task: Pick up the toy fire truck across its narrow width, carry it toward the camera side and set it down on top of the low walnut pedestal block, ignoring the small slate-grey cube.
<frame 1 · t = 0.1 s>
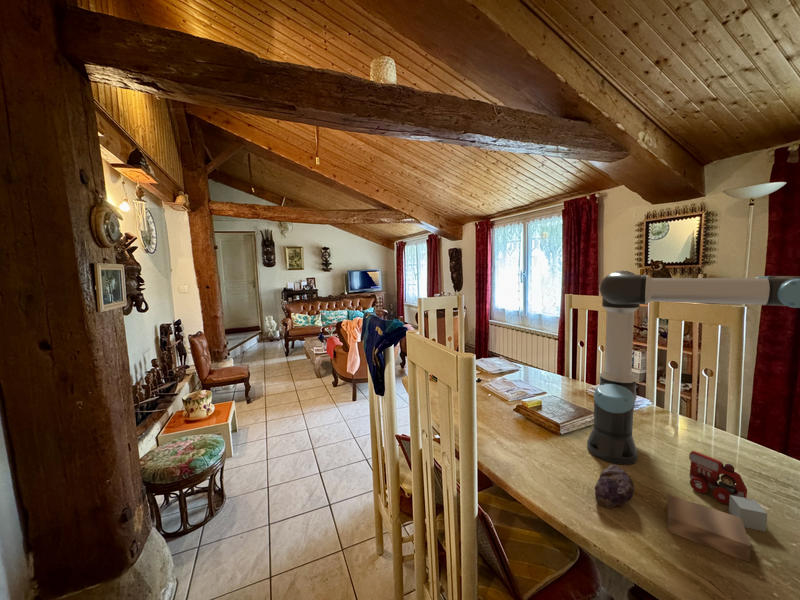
toy fire truck: (714, 494, 93), on the table
grey cube: (746, 521, 83), on the table
rock: (613, 500, 92), on the table
pedestal: (703, 532, 80), on the table
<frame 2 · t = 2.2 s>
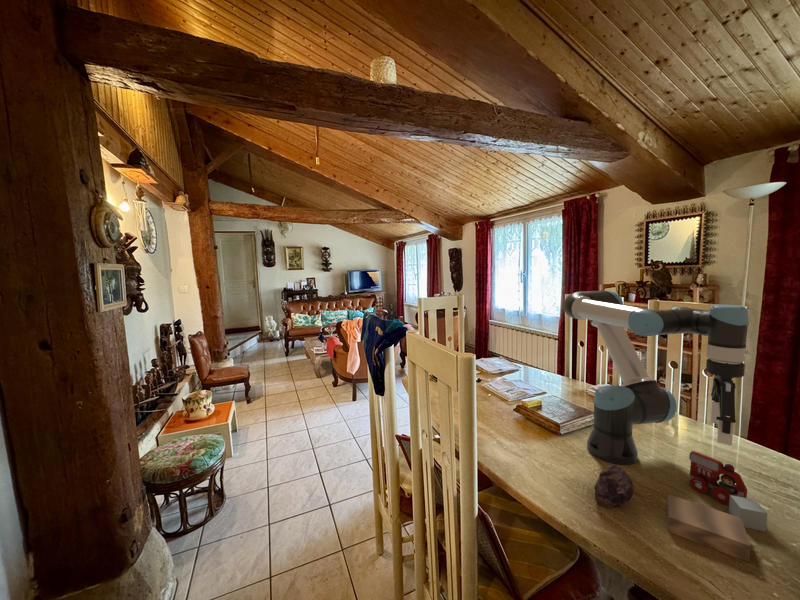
hand: (720, 432, 91), 19 cm above the table, fingers open, 13 cm apart
nothing on the table moved.
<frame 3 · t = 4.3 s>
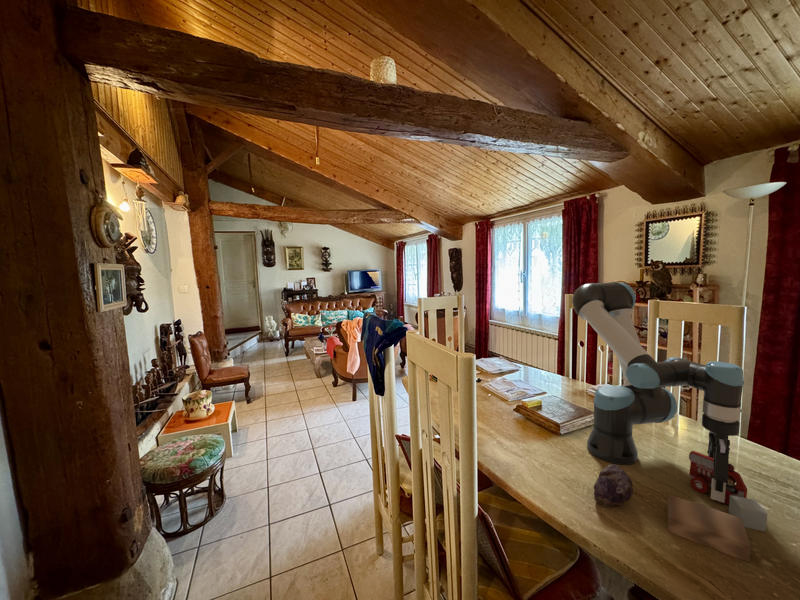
hand: (715, 490, 93), 1 cm above the table, fingers closed on toy fire truck, 8 cm apart
toy fire truck: (714, 494, 93), on the table, touching gripper
everything else where it was.
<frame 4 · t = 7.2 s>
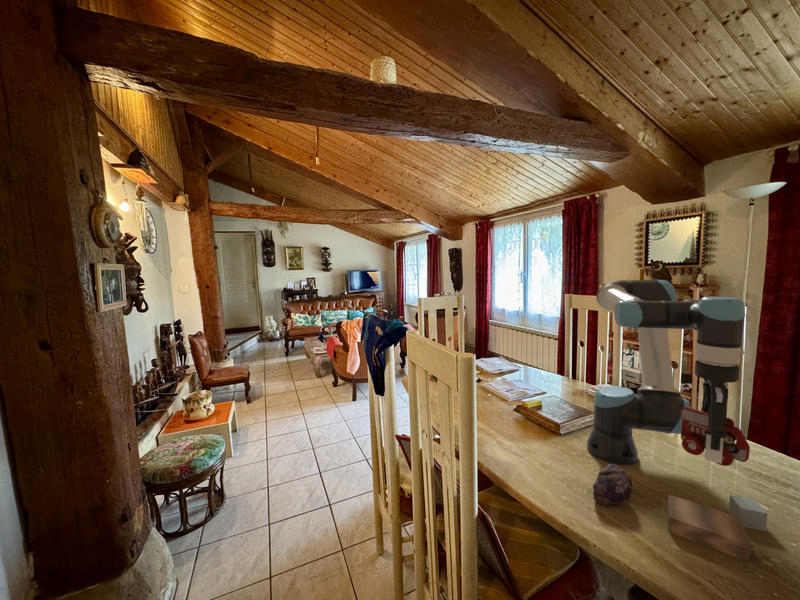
hand: (710, 451, 78), 21 cm above the table, fingers closed on toy fire truck, 8 cm apart
toy fire truck: (710, 456, 78), point 20 cm above the table, touching gripper
everything else where it was.
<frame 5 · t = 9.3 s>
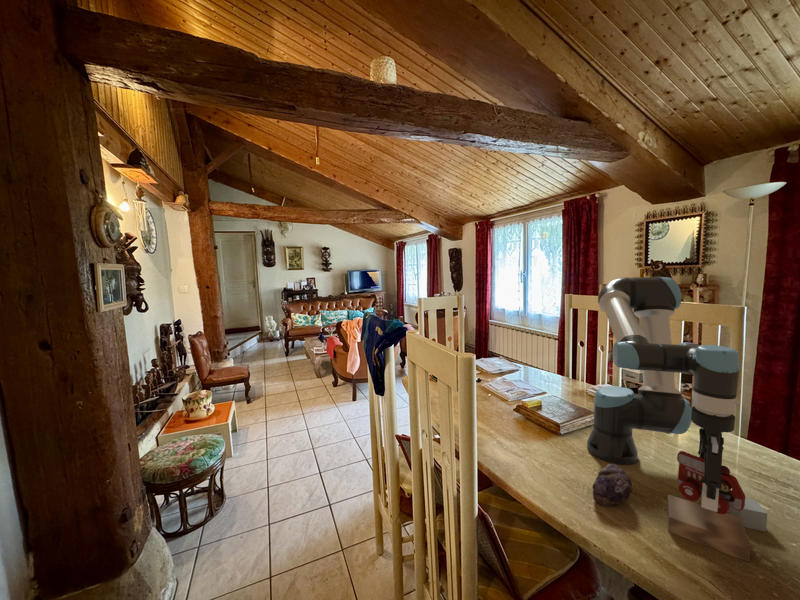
hand: (706, 497, 79), 9 cm above the table, fingers closed on toy fire truck, 8 cm apart
toy fire truck: (707, 501, 79), point 8 cm above the table, touching gripper
everything else where it was.
when the fingers open (6 cm above the table, at t = 10.5 s): toy fire truck drops 1 cm, resting on pedestal.
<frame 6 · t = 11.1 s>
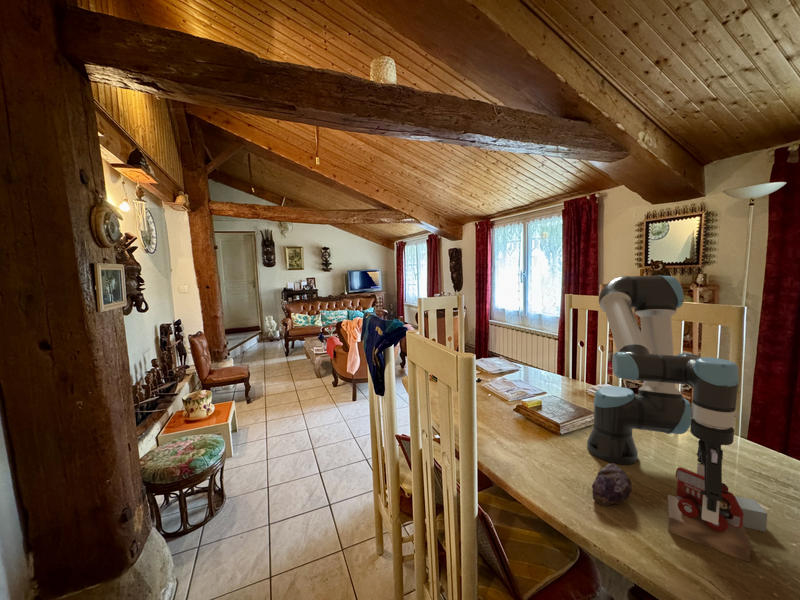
hand: (706, 503, 79), 8 cm above the table, fingers open, 13 cm apart
toy fire truck: (705, 518, 80), point 4 cm above the table, touching pedestal
everything else where it was.
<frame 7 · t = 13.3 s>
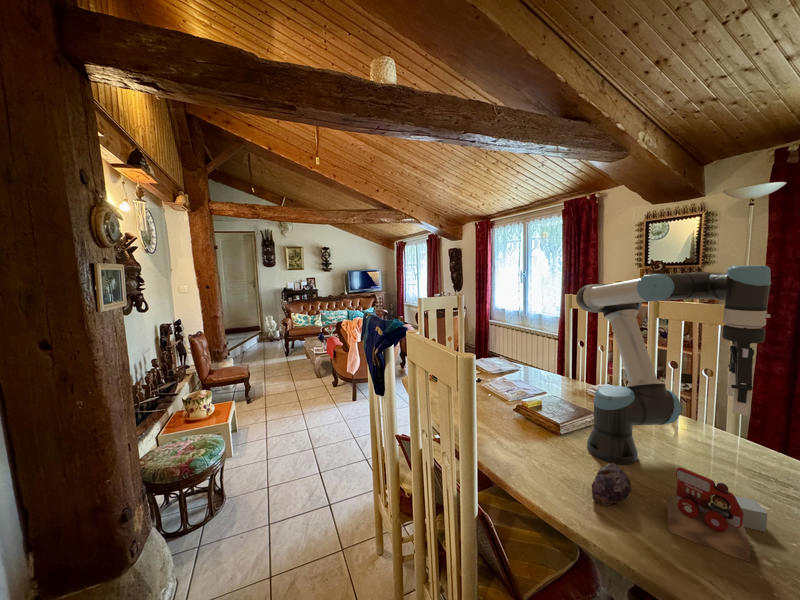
hand: (736, 404, 84), 30 cm above the table, fingers open, 13 cm apart
nothing on the table moved.
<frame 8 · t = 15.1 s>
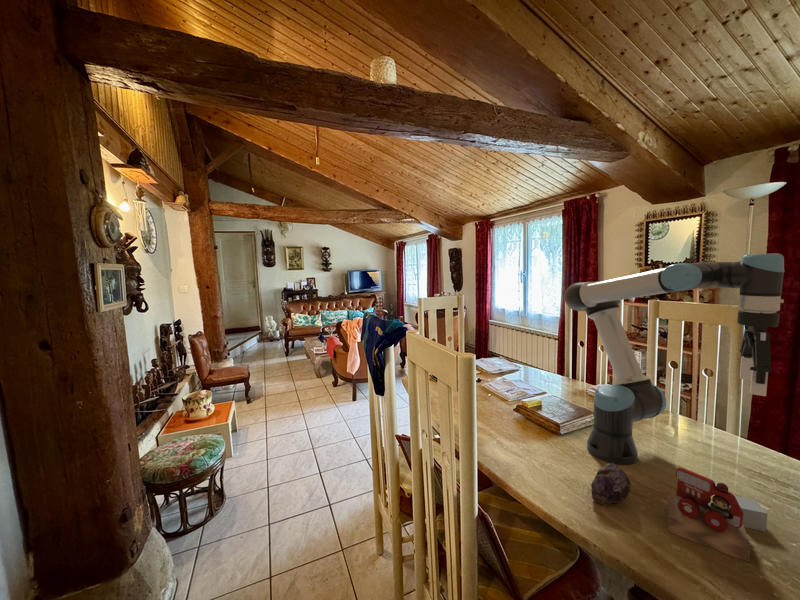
hand: (751, 386, 88), 33 cm above the table, fingers open, 13 cm apart
nothing on the table moved.
at the end: toy fire truck inside the target area on the pedestal (0.1 cm from its centre), point 3.8 cm above the pedestal's base; toy fire truck tilted 0°; the gripper is holding nothing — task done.
